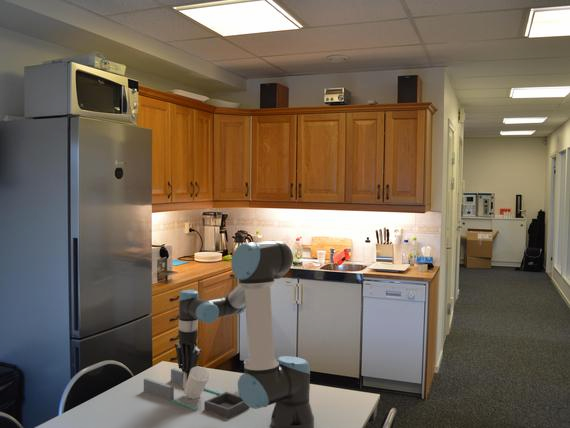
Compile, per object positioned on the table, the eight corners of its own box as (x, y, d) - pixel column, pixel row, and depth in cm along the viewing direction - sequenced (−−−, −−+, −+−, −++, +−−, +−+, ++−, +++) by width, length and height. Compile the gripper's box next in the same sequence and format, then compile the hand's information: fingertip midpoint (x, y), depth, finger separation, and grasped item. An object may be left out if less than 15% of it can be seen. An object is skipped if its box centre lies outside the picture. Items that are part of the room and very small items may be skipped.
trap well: (249, 406, 199) (249, 399, 199) (228, 417, 189) (228, 409, 189) (226, 399, 206) (226, 391, 206) (204, 409, 196) (204, 401, 196)
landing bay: (226, 396, 209) (226, 394, 209) (195, 410, 196) (195, 408, 196) (203, 388, 217) (203, 387, 217) (171, 401, 203) (171, 400, 203)
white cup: (181, 384, 210) (189, 365, 207) (201, 386, 213) (208, 367, 210) (183, 399, 203) (191, 379, 200) (203, 401, 206) (211, 381, 203)
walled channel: (200, 388, 217) (200, 376, 217) (170, 400, 204) (170, 388, 204) (173, 379, 226) (173, 368, 226) (143, 391, 213) (143, 378, 213)
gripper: (206, 330, 208) (205, 388, 210) (183, 324, 216) (182, 380, 217) (192, 334, 202) (191, 394, 204) (169, 328, 210) (168, 385, 211)
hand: (186, 387), depth 211 cm, fingers closed
